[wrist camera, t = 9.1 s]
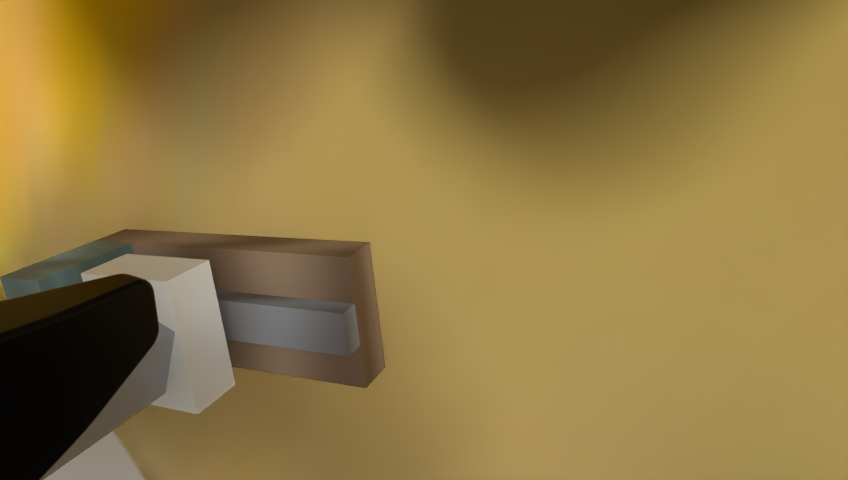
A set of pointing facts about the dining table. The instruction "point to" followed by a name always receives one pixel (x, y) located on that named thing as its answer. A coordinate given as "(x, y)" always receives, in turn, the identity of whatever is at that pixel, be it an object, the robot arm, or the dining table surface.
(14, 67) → the dining table surface
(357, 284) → the rail bed
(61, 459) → the carriage
